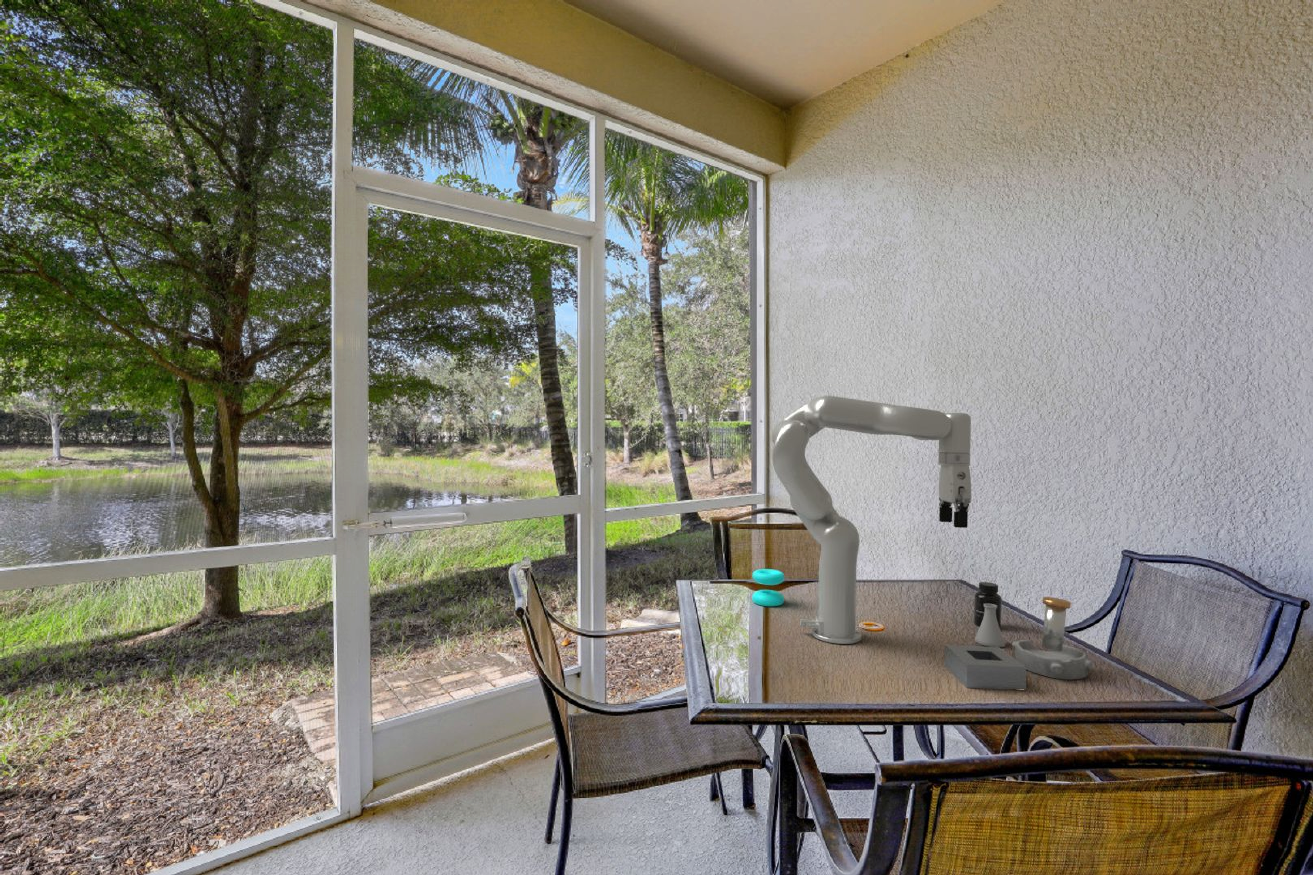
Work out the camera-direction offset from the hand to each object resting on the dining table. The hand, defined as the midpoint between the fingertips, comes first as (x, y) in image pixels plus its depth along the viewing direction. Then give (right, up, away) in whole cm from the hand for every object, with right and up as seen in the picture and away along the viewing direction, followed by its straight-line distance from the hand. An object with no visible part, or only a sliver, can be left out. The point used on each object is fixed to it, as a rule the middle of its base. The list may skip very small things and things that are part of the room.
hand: (952, 524), depth 160 cm
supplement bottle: (+16, -31, +12) cm, 36 cm away
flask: (+8, -31, -3) cm, 32 cm away
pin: (+13, -26, -20) cm, 35 cm away
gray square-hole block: (-6, -30, -25) cm, 40 cm away
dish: (+13, -31, -20) cm, 39 cm away
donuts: (-43, -30, +32) cm, 61 cm away
